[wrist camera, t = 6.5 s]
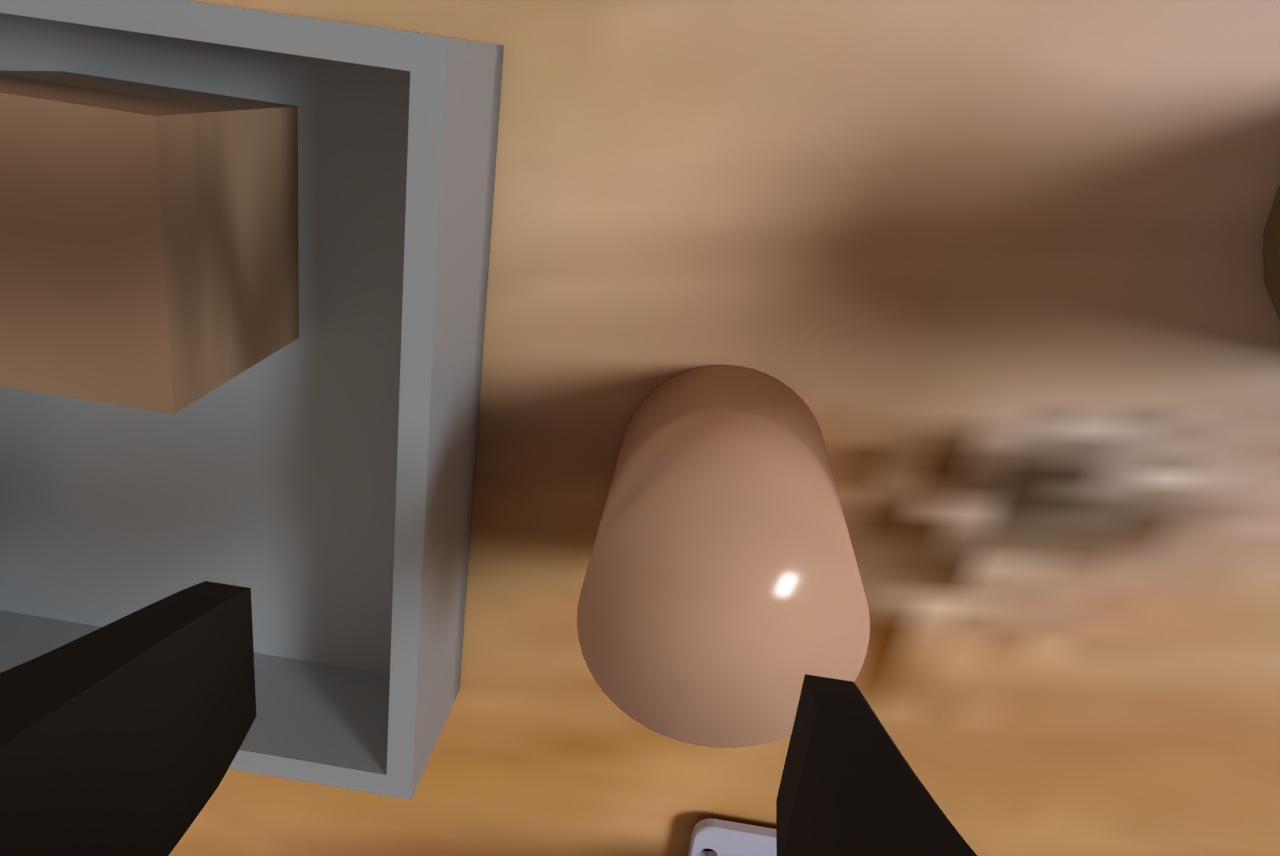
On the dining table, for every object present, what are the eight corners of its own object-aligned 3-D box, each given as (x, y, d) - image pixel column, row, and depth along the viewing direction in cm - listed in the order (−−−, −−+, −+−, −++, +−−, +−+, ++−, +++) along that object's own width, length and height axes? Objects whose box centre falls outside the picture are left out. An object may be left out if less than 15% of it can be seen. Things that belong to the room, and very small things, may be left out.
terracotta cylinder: (803, 565, 22) (835, 768, 16) (610, 535, 22) (563, 722, 16) (845, 382, 20) (901, 524, 14) (635, 350, 21) (593, 476, 14)
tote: (459, 689, 24) (411, 799, 21) (-11, 611, 25) (-140, 705, 21) (503, 45, 18) (447, 37, 15) (-117, -43, 19) (-323, -72, 15)
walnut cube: (299, 337, 20) (174, 414, 16) (86, 303, 21) (-100, 369, 16) (297, 105, 19) (155, 116, 14) (64, 71, 19) (-154, 69, 14)
